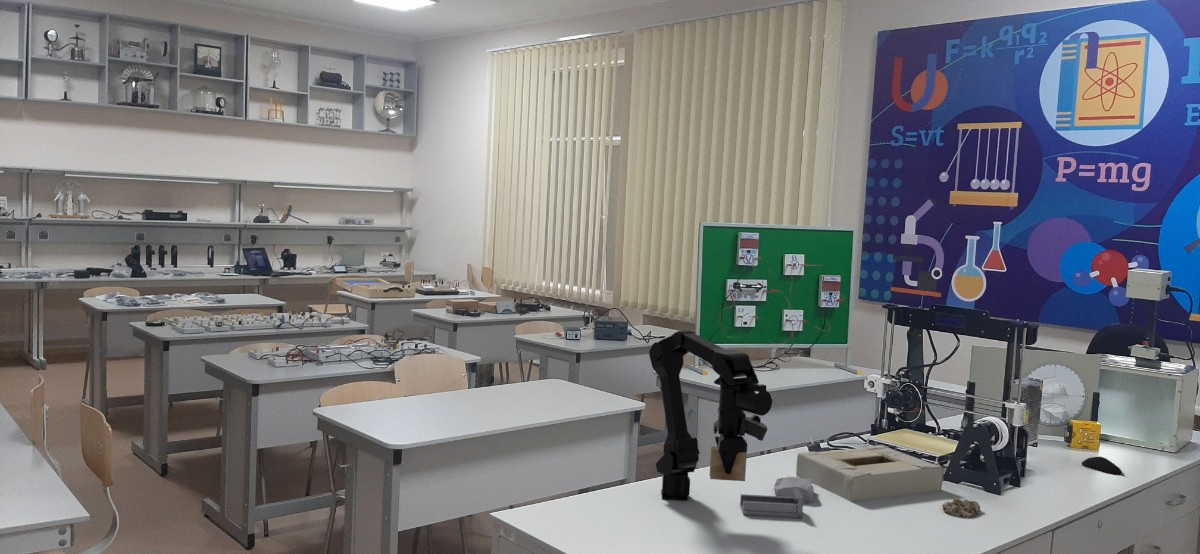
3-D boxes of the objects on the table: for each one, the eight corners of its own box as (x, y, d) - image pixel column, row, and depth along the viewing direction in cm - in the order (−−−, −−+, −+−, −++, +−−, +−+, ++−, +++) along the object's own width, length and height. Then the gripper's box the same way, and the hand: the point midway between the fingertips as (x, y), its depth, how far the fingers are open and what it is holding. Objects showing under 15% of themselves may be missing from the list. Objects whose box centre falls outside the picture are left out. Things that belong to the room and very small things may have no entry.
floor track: (743, 515, 210) (744, 494, 209) (739, 505, 217) (740, 485, 216) (802, 518, 209) (803, 497, 209) (796, 508, 216) (797, 488, 216)
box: (851, 505, 223) (943, 491, 237) (853, 475, 223) (945, 463, 237) (794, 479, 244) (881, 468, 258) (795, 452, 244) (882, 442, 257)
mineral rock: (959, 511, 213) (937, 492, 220) (954, 526, 215) (932, 507, 222) (993, 509, 217) (971, 491, 224) (987, 524, 218) (965, 506, 226)
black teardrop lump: (1121, 480, 257) (1123, 466, 256) (1076, 465, 270) (1077, 452, 270) (1136, 478, 259) (1137, 465, 259) (1090, 464, 273) (1092, 451, 272)
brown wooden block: (710, 479, 204) (712, 449, 203) (709, 475, 207) (711, 446, 206) (744, 481, 204) (746, 451, 203) (743, 477, 207) (745, 448, 206)
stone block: (776, 507, 222) (816, 503, 221) (774, 489, 222) (813, 484, 221) (774, 495, 234) (812, 491, 232) (772, 477, 234) (810, 473, 232)
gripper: (771, 417, 194) (767, 486, 196) (760, 399, 213) (756, 462, 214) (721, 414, 195) (717, 483, 196) (714, 397, 213) (711, 459, 215)
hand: (727, 471), depth 205 cm, fingers closed on brown wooden block, 3 cm apart
